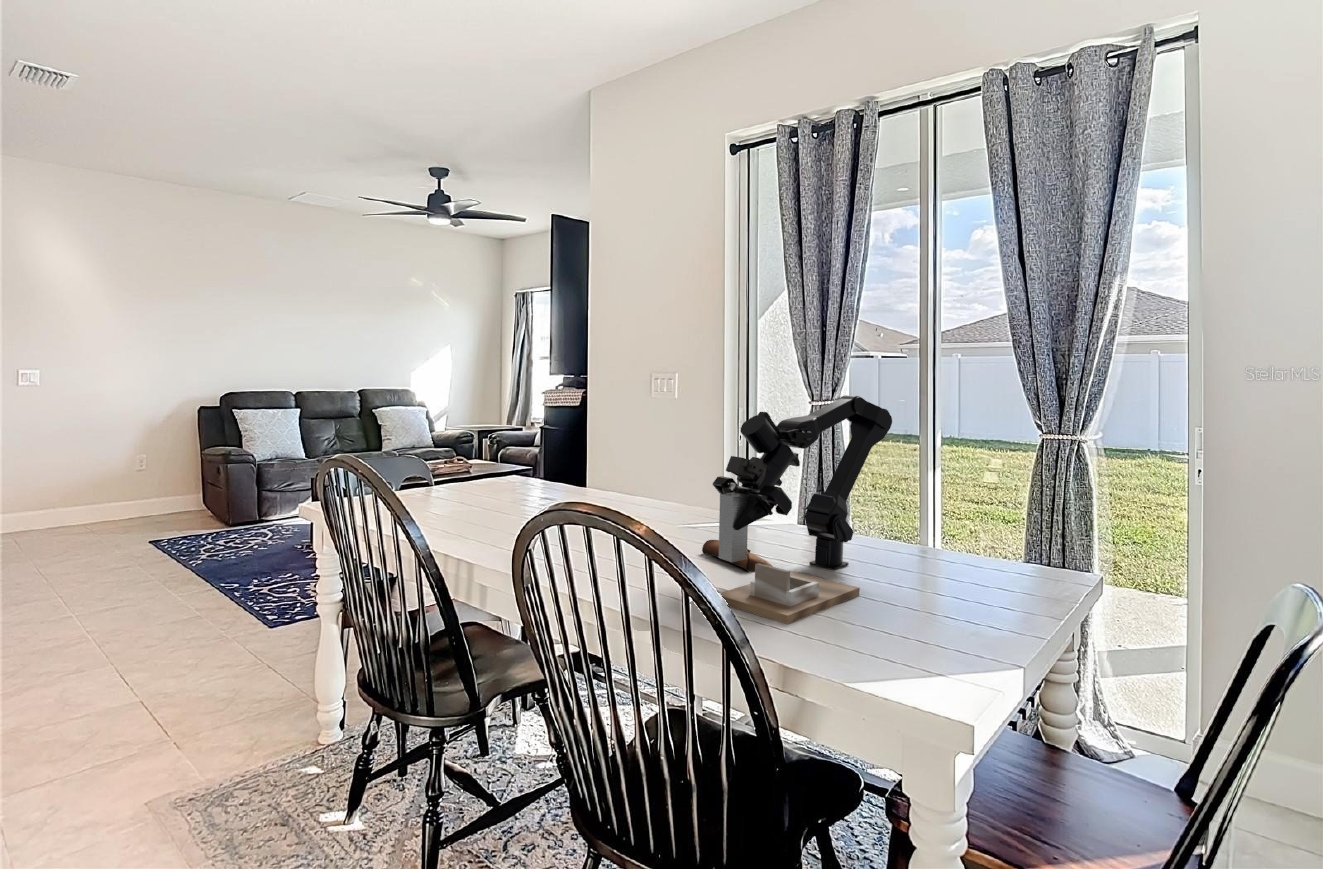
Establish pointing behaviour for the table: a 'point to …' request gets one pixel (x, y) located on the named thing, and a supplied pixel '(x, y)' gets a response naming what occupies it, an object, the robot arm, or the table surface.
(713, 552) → the sunglasses case
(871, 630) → the table surface
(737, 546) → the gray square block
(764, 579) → the keeper board
